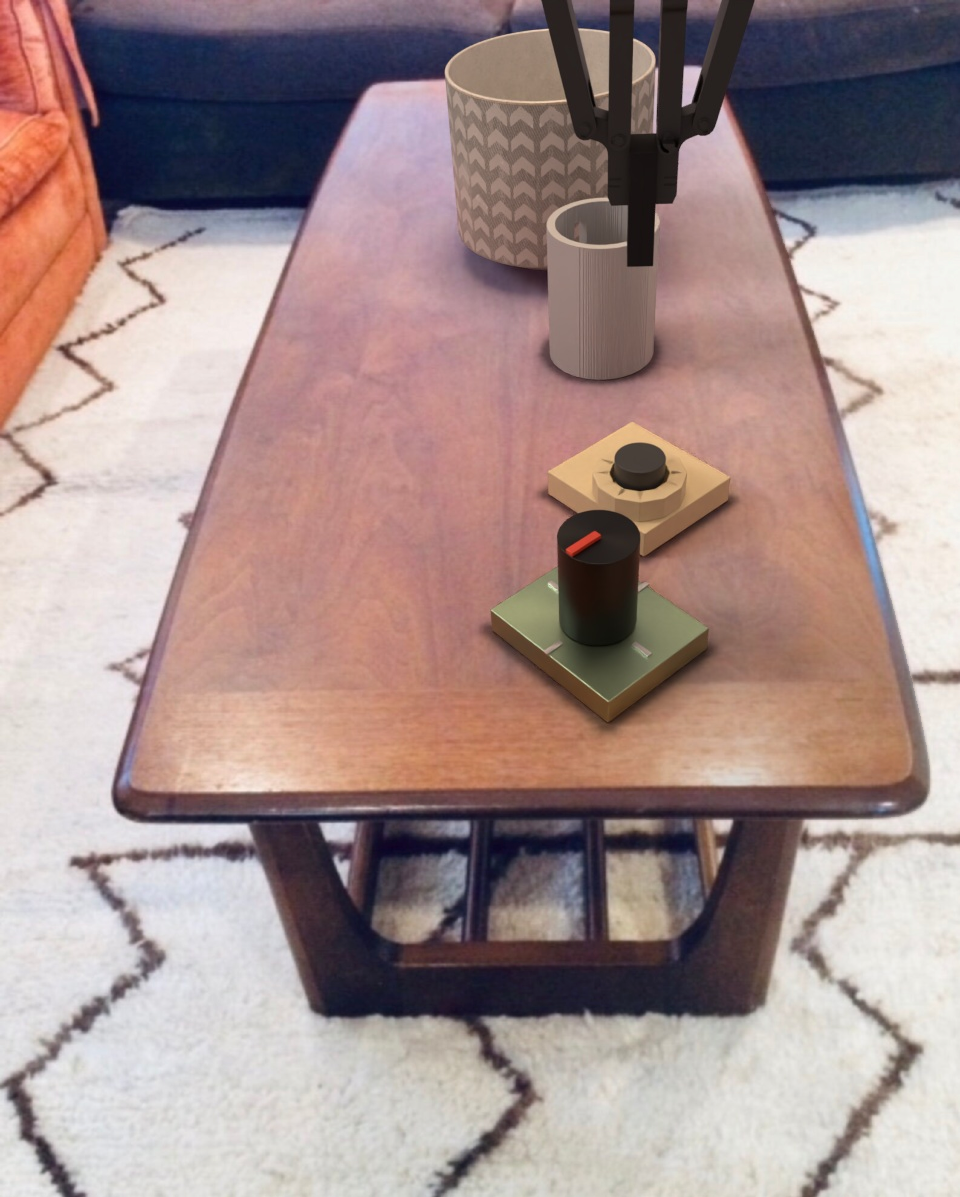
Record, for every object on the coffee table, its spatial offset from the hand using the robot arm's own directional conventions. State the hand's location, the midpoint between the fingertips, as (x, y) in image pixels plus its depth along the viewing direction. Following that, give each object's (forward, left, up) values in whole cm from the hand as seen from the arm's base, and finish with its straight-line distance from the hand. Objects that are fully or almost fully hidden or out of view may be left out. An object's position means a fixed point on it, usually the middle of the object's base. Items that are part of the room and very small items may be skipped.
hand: (639, 255), depth 64 cm
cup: (+19, -16, -22) cm, 34 cm away
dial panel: (-6, +9, -22) cm, 24 cm away
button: (+1, -2, -18) cm, 19 cm away
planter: (+36, -26, -22) cm, 50 cm away
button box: (+3, -4, -22) cm, 22 cm away
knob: (-6, +9, -20) cm, 22 cm away
